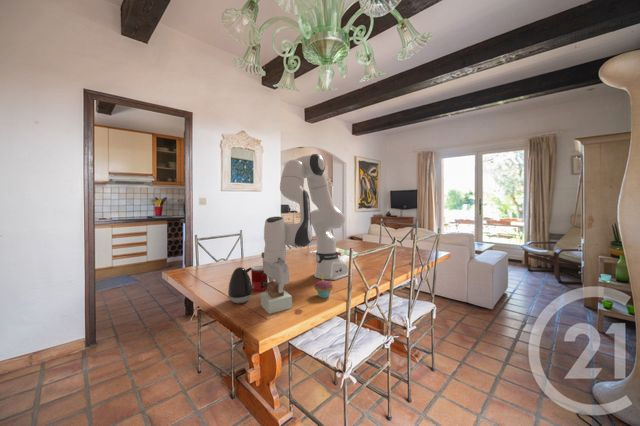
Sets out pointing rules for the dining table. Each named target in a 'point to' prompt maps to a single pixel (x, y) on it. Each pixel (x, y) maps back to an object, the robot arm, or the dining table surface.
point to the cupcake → (323, 287)
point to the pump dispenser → (240, 286)
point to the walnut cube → (274, 289)
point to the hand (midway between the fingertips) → (275, 288)
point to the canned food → (259, 279)
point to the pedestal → (276, 302)
